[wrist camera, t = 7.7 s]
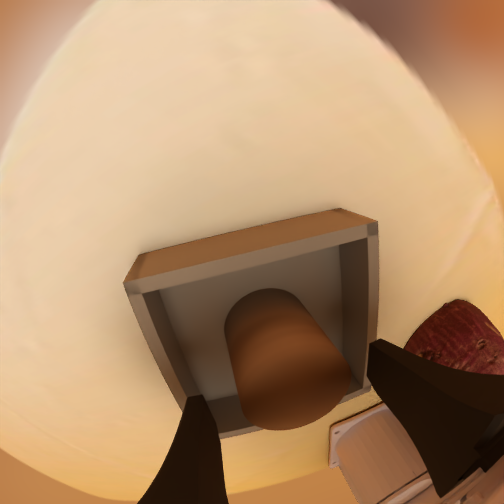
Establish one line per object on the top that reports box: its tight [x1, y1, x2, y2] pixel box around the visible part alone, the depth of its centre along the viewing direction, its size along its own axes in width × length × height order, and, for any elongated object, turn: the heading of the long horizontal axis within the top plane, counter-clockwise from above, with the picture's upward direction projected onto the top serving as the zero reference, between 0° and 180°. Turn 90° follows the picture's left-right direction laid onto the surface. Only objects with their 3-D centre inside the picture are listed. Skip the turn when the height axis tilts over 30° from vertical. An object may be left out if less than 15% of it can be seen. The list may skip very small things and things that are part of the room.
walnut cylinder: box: [224, 288, 351, 430], centre depth 12 cm, size 5×5×6 cm
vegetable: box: [404, 300, 504, 375], centre depth 15 cm, size 10×10×15 cm
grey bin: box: [123, 208, 379, 439], centre depth 14 cm, size 11×11×4 cm
